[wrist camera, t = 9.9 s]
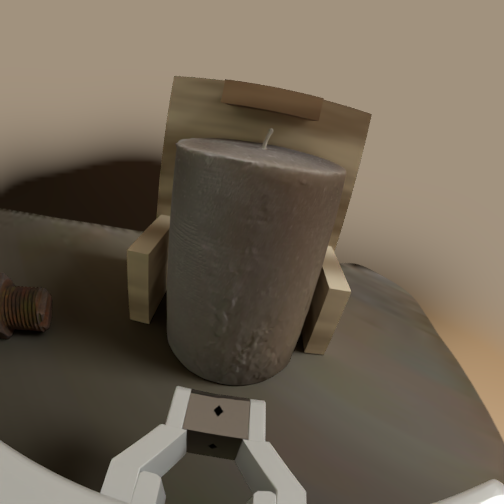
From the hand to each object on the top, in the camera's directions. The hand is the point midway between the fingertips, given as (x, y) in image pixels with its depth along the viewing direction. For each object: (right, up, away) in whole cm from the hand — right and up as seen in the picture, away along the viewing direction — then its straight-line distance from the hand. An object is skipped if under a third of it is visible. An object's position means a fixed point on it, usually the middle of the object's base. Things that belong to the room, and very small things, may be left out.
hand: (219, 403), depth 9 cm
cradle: (-1, 0, +16) cm, 16 cm away
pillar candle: (-1, -1, +13) cm, 13 cm away
